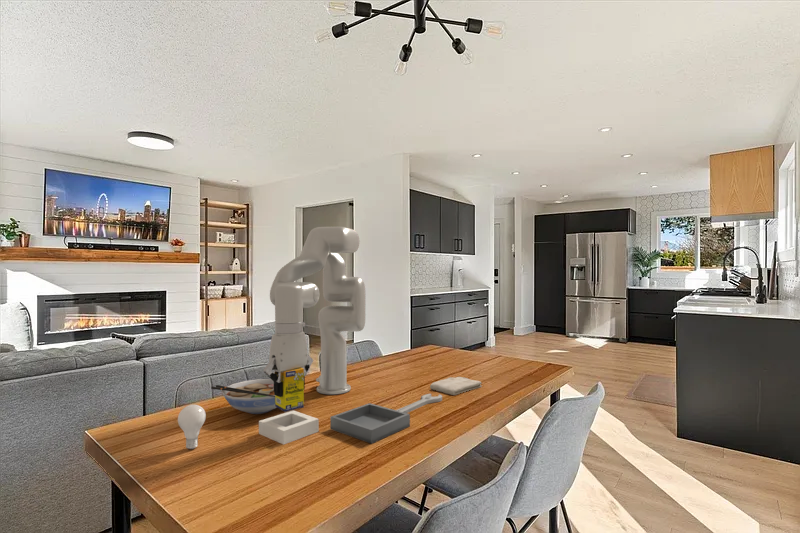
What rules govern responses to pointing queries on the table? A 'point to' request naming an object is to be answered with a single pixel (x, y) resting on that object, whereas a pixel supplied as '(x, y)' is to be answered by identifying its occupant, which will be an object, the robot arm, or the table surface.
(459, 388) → the washcloth
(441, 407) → the table surface
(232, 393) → the ramen bowl
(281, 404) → the supplement box
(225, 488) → the table surface
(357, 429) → the tray
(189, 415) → the lightbulb
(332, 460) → the table surface
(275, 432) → the socket collar
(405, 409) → the adjustable wrench
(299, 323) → the robot arm
